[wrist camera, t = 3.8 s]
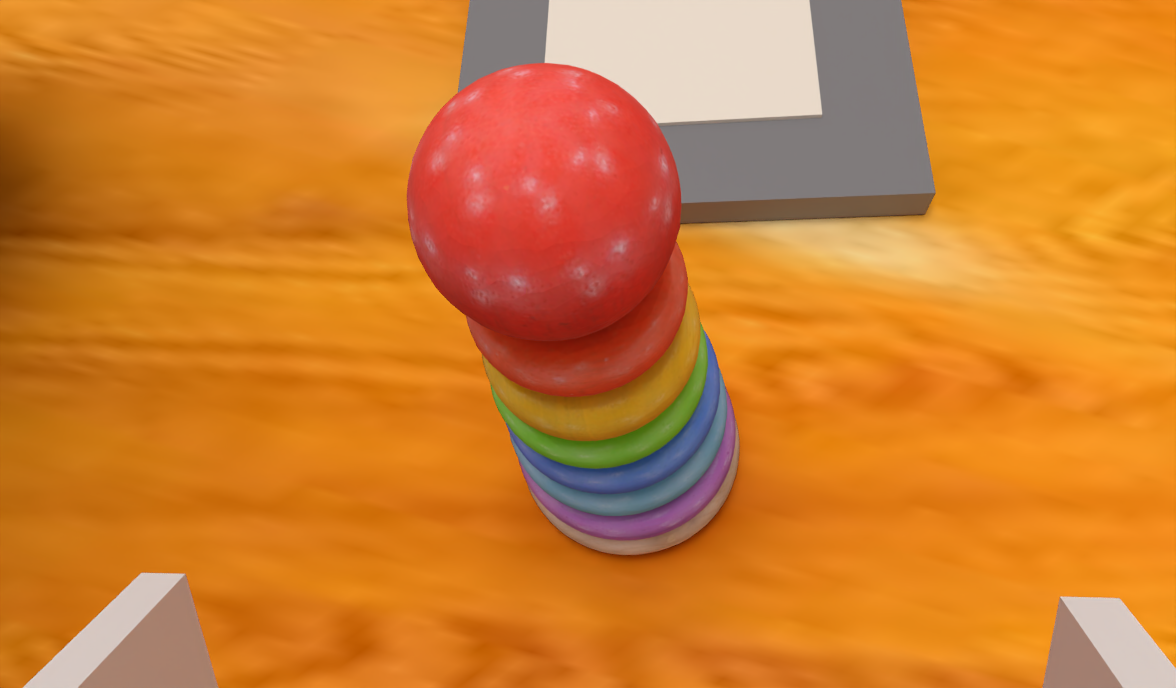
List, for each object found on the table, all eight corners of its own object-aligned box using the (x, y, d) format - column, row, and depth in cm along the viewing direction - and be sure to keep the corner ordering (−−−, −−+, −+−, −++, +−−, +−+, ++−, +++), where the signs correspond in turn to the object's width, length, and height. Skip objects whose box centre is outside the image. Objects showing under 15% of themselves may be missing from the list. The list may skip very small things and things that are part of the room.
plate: (452, 231, 34) (440, 209, 33) (490, -81, 42) (483, -110, 41) (924, 214, 32) (936, 189, 30) (869, -114, 40) (876, -146, 38)
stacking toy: (658, 318, 31) (622, -125, 14) (781, 481, 28) (923, 156, 11) (490, 422, 30) (236, 78, 13) (597, 603, 27) (441, 454, 10)
